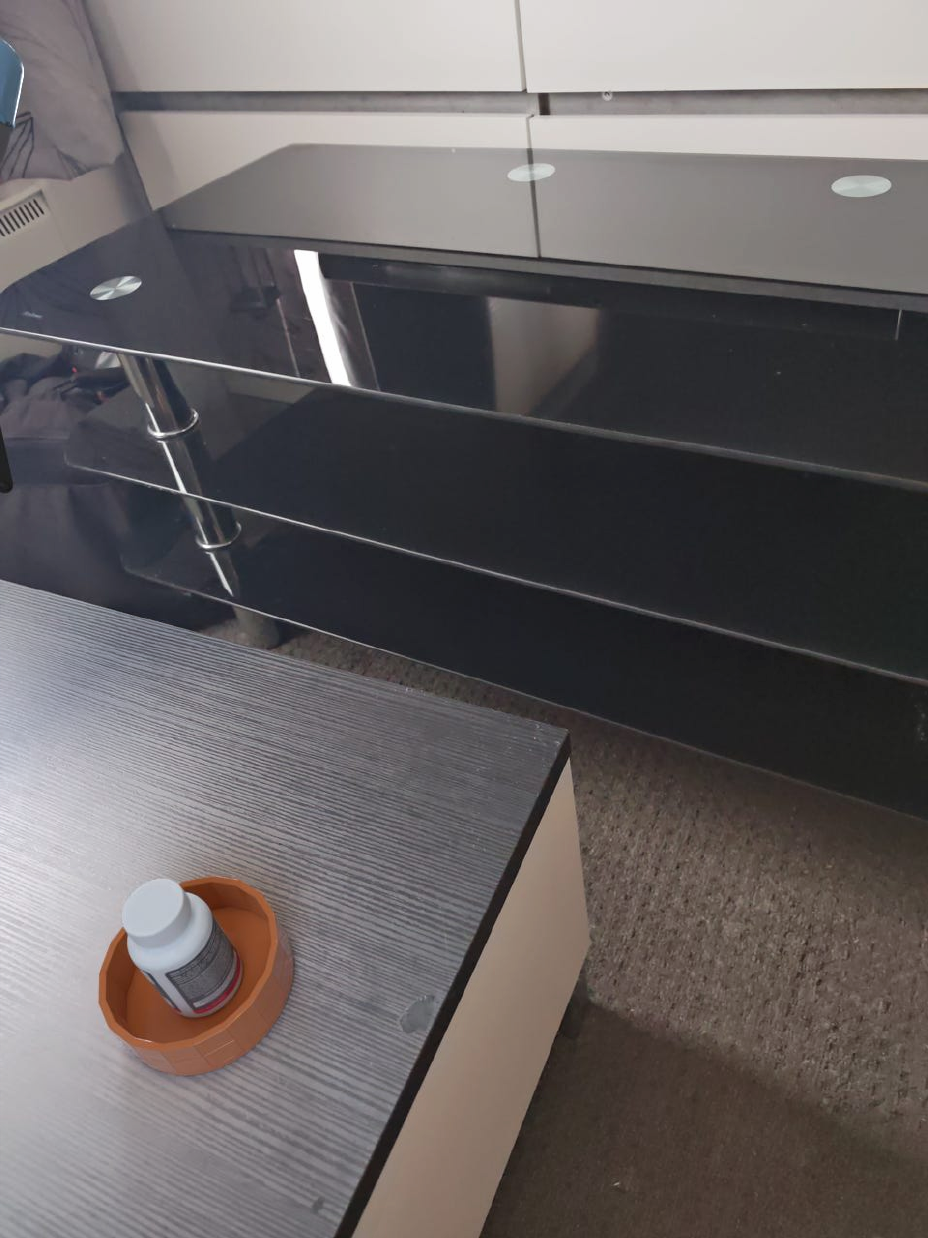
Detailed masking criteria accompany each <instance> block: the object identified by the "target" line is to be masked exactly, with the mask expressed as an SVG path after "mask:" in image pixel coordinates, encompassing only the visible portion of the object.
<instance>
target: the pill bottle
mask: <svg viewBox="0 0 928 1238" xmlns="http://www.w3.org/2000/svg"><path fill="white" fill-rule="evenodd" d="M179 884H180V883H178V882H176V880H173V879H169V878H156V879H155V878H154V879H152V880H149V881H146V882H145V883H143V884H142V885H140V886H139V887H137V888H136V889H134V891H132V893H131V894H130V895H129V896H128V898H126V900H125V902H124V905H123V906H122V909H121V914H120V922H121V925H122V927H123V928H124V929H125V931H126V932H127V934H128V938H127V947H128V952H129V955H130V957H131V959H132V960H133V962H134V963H135V965H136V966H137V967H138V968H139V969H140V971H141V972H142V973H143V974H144V975H145V977H146V978H147V979H148V980H149V982H150V983H151V984H152V985H153V986H154V988H155V989H156V990H157V991H158V992H159V994H160V995H161V996H162V997H163V999H164V1000H165V1001H166V1002H167V1003H168V1004H169V1005H170V1007H171V1008H172V1009H173V1010H174V1011H175V1012H177V1013H178V1014H180V1015H182V1016H185V1017H190V1018H196V1017H203V1016H207V1015H210V1014H212V1013H214V1012H215V1011H217V1010H219V1009H220V1008H222V1007H223V1006H224V1005H226V1004H227V1003H228V1002H229V1001H230V1000H231V998H232V997H233V996H234V994H235V993H236V991H237V989H238V988H239V985H240V982H241V979H242V973H243V967H242V961H241V958H240V956H239V954H238V952H237V951H236V949H235V947H234V946H233V945H232V943H231V942H230V940H229V939H228V937H227V936H226V934H225V932H224V931H223V929H222V928H221V926H220V924H219V923H218V922H217V920H216V919H215V917H214V915H213V914H212V912H211V910H210V909H209V907H208V906H207V905H206V903H205V902H204V901H203V900H202V899H201V898H199V897H198V896H196V895H194V894H191V893H188V892H185V891H184V890H183V889H182V888H181V886H180V885H179Z"/></svg>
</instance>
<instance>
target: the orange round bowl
mask: <svg viewBox="0 0 928 1238" xmlns="http://www.w3.org/2000/svg"><path fill="white" fill-rule="evenodd" d="M178 884H179V885H180V886H181V888H182V889H183V890H184V891H185V892H188V893H191V894H194V895H196V896H198V897H199V898H201V899H202V900H203V901H204V902H205V903H206V905H207V906H208V907H209V909H210V910H211V912H212V914H213V915H214V917H215V919H216V920H217V922H218V923H219V924H220V926H221V928H222V929H223V931H224V932H225V934H226V936H227V937H228V939H229V940H230V942H231V943H232V945H233V946H234V947H235V949H236V951H237V952H238V954H239V956H240V958H241V961H242V967H243V973H242V979H241V982H240V985H239V988H238V989H237V991H236V993H235V994H234V996H233V997H232V998H231V1000H230V1001H229V1002H228V1003H227V1004H226V1005H224V1006H223V1007H222V1008H220V1009H219V1010H217V1011H215V1012H214V1013H212V1014H210V1015H207V1016H203V1017H196V1018H190V1017H185V1016H182V1015H180V1014H178V1013H177V1012H175V1011H174V1010H173V1009H172V1008H171V1007H170V1005H169V1004H168V1003H167V1002H166V1001H165V1000H164V999H163V997H162V996H161V995H160V994H159V992H158V991H157V990H156V989H155V988H154V986H153V985H152V984H151V983H150V982H149V980H148V979H147V978H146V977H145V975H144V974H143V973H142V972H141V971H140V969H139V968H138V967H137V966H136V965H135V963H134V962H133V960H132V959H131V957H130V955H129V952H128V947H127V938H128V934H127V932H126V931H125V929H124V928H123V926H122V927H121V928H120V930H119V931H117V933H116V935H115V936H114V937H113V939H112V940H111V941H110V944H109V946H108V948H107V951H106V954H105V956H104V959H103V962H102V965H101V967H100V969H99V973H98V1002H97V1003H98V1006H99V1008H100V1010H101V1013H102V1015H103V1017H104V1020H105V1022H106V1024H107V1027H108V1029H109V1030H110V1031H111V1033H113V1034H114V1036H116V1037H117V1039H118V1040H119V1041H120V1042H121V1043H122V1044H123V1045H124V1046H125V1047H126V1048H127V1049H128V1050H129V1051H130V1052H131V1053H132V1054H134V1055H135V1056H136V1057H137V1058H138V1059H139V1060H140V1061H142V1062H143V1063H144V1064H145V1065H147V1066H148V1067H150V1068H152V1069H153V1070H155V1071H158V1072H160V1073H163V1074H168V1075H172V1076H184V1077H186V1076H187V1077H188V1076H197V1075H202V1074H206V1073H211V1072H214V1071H216V1070H218V1069H219V1070H220V1069H222V1068H224V1067H226V1066H228V1065H230V1064H232V1063H234V1062H235V1061H237V1060H239V1059H240V1058H241V1057H243V1056H244V1055H246V1054H248V1052H250V1051H251V1050H252V1049H254V1047H256V1046H257V1045H258V1044H259V1043H260V1042H261V1041H262V1040H263V1039H264V1038H265V1037H266V1036H267V1034H268V1033H269V1032H270V1030H271V1029H273V1027H274V1025H275V1024H276V1022H277V1021H278V1019H279V1018H280V1016H281V1014H282V1012H283V1010H284V1009H285V1006H286V1004H287V1002H288V1000H289V995H290V993H291V989H292V985H293V981H294V971H295V965H294V954H293V949H292V945H291V943H290V939H289V936H288V935H287V932H286V931H285V929H284V927H283V926H282V924H281V922H280V920H279V919H278V917H277V915H276V912H274V910H273V909H272V906H271V905H270V904H269V902H268V901H267V899H266V898H265V896H264V895H263V893H262V892H261V891H259V890H258V889H256V888H254V887H253V886H251V885H249V884H248V883H246V882H244V881H242V880H241V879H236V878H229V877H223V876H216V875H212V876H205V877H200V878H194V879H188V880H185V881H181V882H179V883H178Z"/></svg>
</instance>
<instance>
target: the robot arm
mask: <svg viewBox="0 0 928 1238" xmlns="http://www.w3.org/2000/svg"><path fill="white" fill-rule="evenodd" d="M23 64H24V63H23V62H22V60H21V57H20V55H19V54H18V53H17V51H15V49H14V48H13V47H12V46H11V45H10V44H9V43H8V42H7V41H6V40H4V39H3V38H2V37H0V172H1V170H2V167H3V164H4V160H5V157H6V154H7V152H8V151H7V150H8V147H9V143H10V141H11V137H12V134H13V133H15V128H16V124H15V120H16V115H17V110H18V107H19V101H20V96H21V91H22V84H23V81H24V75H25V74H24V73H25V71H24V69H25V68H24V65H23ZM9 463H10V462H9V459H8V455H7V450H6V446H5V440H4V437H3V432H2V428H1V426H0V493H2V494H8V493H11V491H12V490H13V489H14V482H13V477H12V472H11V468H10V464H9Z"/></svg>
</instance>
